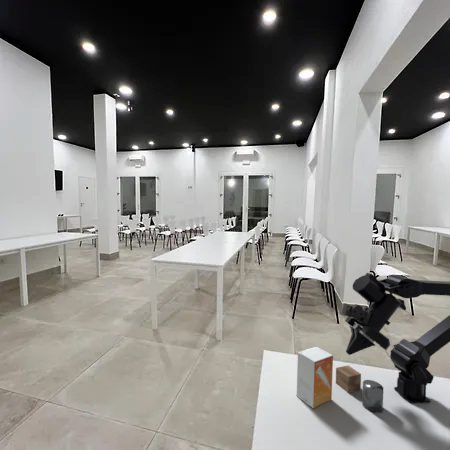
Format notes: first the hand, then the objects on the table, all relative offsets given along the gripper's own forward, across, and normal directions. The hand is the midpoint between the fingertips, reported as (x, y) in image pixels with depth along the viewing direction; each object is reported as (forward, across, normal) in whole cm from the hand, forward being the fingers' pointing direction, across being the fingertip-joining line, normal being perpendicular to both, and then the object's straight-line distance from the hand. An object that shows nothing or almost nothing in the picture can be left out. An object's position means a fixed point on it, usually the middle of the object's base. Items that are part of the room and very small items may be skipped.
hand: (347, 353), depth 76 cm
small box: (+16, 0, 0) cm, 16 cm away
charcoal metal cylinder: (+7, 0, +13) cm, 15 cm away
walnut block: (+8, -8, +9) cm, 14 cm away
